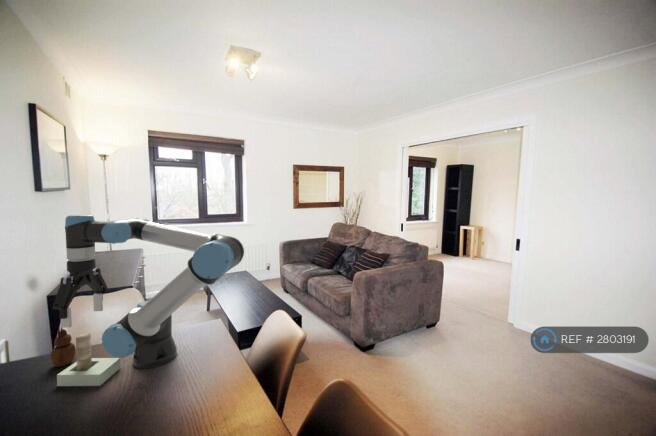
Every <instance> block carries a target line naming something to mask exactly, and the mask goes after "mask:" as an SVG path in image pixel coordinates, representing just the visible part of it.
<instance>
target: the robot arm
mask: <svg viewBox="0 0 656 436" xmlns="http://www.w3.org/2000/svg"><path fill="white" fill-rule="evenodd" d="M64 220H65V221H64V222H65V224H64V225H65V226H64V229H65V231H64V233H65V246H66V260H67V261H66V271H67V272H68V273H69V277H61V278H60V285H59V287H58V290H57V293H56V296H55V299H54V301H53V304H52V307H51V308H52V309H53V310H59V311H58V312H59V319H60V329H61V328H62V329H65V328H66V329H67V328H68V329H69V328H71V327H73V326H72V325H73V324H72V323H73V321H72V307H71V303H72V302H73V299H74V298H75V296H76V294H77V292H78V291H79V290H80V289H81V287H84V286H89V288H90V289H91V290H92V291H93V292H94V294H93V297H92V298H93V299H92V300H93V312H102V311H103V310H104V305H103V301H104V297H103V296H104V294H105V293H106V292H107V290H108V286H107V284H106V281H105V280H104V278H103V275H102V272H101V271H102V270H101V268H98V267H96V265H97V264H96V258H95V257H96V243H98V244H113V245H114V244H123V243H126V242H127V241H128V240H133V239H135V240H140V241H146V242H149V243H154V244H159V245H162V246H168V247H172V248H175V249H180V250H184V251H188V252H189V251H190V252H192V253H193V252H194V253H193V255H192V256H191V257H190V259H188V261H187V267H186V268H185V269H183V270H182V271H181V272H180V273H179V274H177V275H176V276H175V277H174V279H172V280H171V281H170V282H169V283H167V284H166V285H165V286H164V287H163V288H162V289H161V290H159V292H157V293H156V294H155V295H154V296H153V297H152V298H150V299H149V300H146V301H141V302H139V303H138V304H137V306H136V307H134V308H133V309H132V310H130V311H129V312H128V313H127V314H126V315H124V316H123V317H122V318H121V319H120V320H118V321H117V322H115V323H114V324H111V325H109V326H108V327H107V328H106V329H105V330H104V331H103V333H102V334H101V335H102V336H101V345H102V347H103V349H104V350H105V352H106V353H107V354H108V355H110V356H112V358H120V359H124V358H127V357H130V356H131V355H133V356H132V365H133V366H134V367H135V368H136V369H138V368H139V369H152V368H156V367H159V366H163V365H165V364H167V363H169V362H170V361H172V360H173V359H174V358H176V357H177V353H178V349H177V348H178V347H177V344H176V343H175V340H174V338H173V334H172V329H173V328H172V326H173V325H172V322H173V321H172V315H173V313H175V312H176V311H177V310H178V309H179V308H180V307H181V306H183V305H184V304H185V303H186V302H187V301H189V300H190V299H191V298H192V297H194V295H196V293H197V292H199V291H200V290H201V289H203V288H204V286H206V285H207V286H208V285H209V286H211V285H214V284H215V283H216V282H217V281H219V280H220V278H222V276H224V275H225V274H226V273H227V272H229V271H230V270H231V269H233V268H235V267H236V266H238V265H239V264H241V262H242V260H243V258H244V255H245V249H244V248H245V247H244V246H243V244H242V242H241V241H240V240H239V239H237V238H236V237H233V236H229V235H224V234H219V233H213V234H212V235H211V234H208V233H207V234H206V233H203V232H198V231H193V230H188V229H183V228H179V227H174V226H170V225H166V224H161V223H156V222H153V221H150V220H149V219H147V218H142V217H141V218H140V217H139V218H138V217H137V218H130V219H128V218H127V219H120V220H119V219H118V220H107V221H106V220H98V221H97V220H95V217H94V214H93V215H92V214H69V215H67V216H66V217H65V219H64Z"/></svg>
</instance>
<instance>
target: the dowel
mask: <svg viewBox="0 0 656 436" xmlns="http://www.w3.org/2000/svg"><path fill="white" fill-rule="evenodd" d="M75 356H76V362H77V371H87V370H89V369H90V368H91V367H92V358H93V357H92V336H91V333H82V334H80V335H77V336H76V337H75Z"/></svg>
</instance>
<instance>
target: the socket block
mask: <svg viewBox="0 0 656 436" xmlns="http://www.w3.org/2000/svg"><path fill="white" fill-rule="evenodd" d="M91 358H92V367H91V368H90V369H89V370H87V371H77V361H75V362H74V363H72V364H71V365H70V366H68V367H66V368H65V369H63V370H62V371H61V372H59V373H57V374H56V387H100V386H102V385H103V384H104V383H105V382H107V381H108V380H109V379H110V378H112V376H113V375H114V374H115V373H117V372H118V371H119V370H120V369H121V358H118V357H91Z"/></svg>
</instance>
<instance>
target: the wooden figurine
mask: <svg viewBox="0 0 656 436" xmlns="http://www.w3.org/2000/svg"><path fill="white" fill-rule="evenodd" d="M53 346H54V347H53V349H52V350H51V352H50V361H51V363H52V364H53V366H54V367H57V368H60V367H64V366H65V367H66V366H67V365H69V364H71V363H72V362H73V361H74V358H75V356H76V344H74V343H73V342H72V336H71V334H68V331H67V329H65V328H61V327H60V328H59V327H58V328H57V337H55V338H54V341H53Z"/></svg>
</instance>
